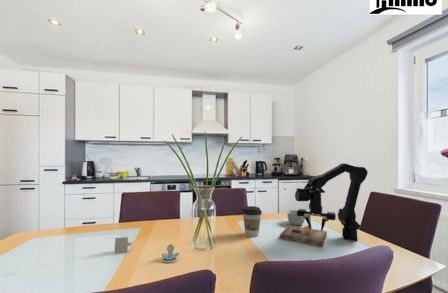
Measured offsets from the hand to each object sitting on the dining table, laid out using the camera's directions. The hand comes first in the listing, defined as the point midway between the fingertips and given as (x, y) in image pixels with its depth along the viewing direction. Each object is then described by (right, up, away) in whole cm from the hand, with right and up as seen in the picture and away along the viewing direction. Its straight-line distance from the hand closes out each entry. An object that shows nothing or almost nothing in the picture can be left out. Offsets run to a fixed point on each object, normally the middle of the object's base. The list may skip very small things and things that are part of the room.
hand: (316, 230), depth 120 cm
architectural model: (-97, -5, -15) cm, 98 cm away
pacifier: (-72, -4, -23) cm, 76 cm away
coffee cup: (-33, -5, +7) cm, 35 cm away
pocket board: (-5, -5, +3) cm, 8 cm away
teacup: (-2, -6, +28) cm, 29 cm away
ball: (-4, 0, +2) cm, 5 cm away
